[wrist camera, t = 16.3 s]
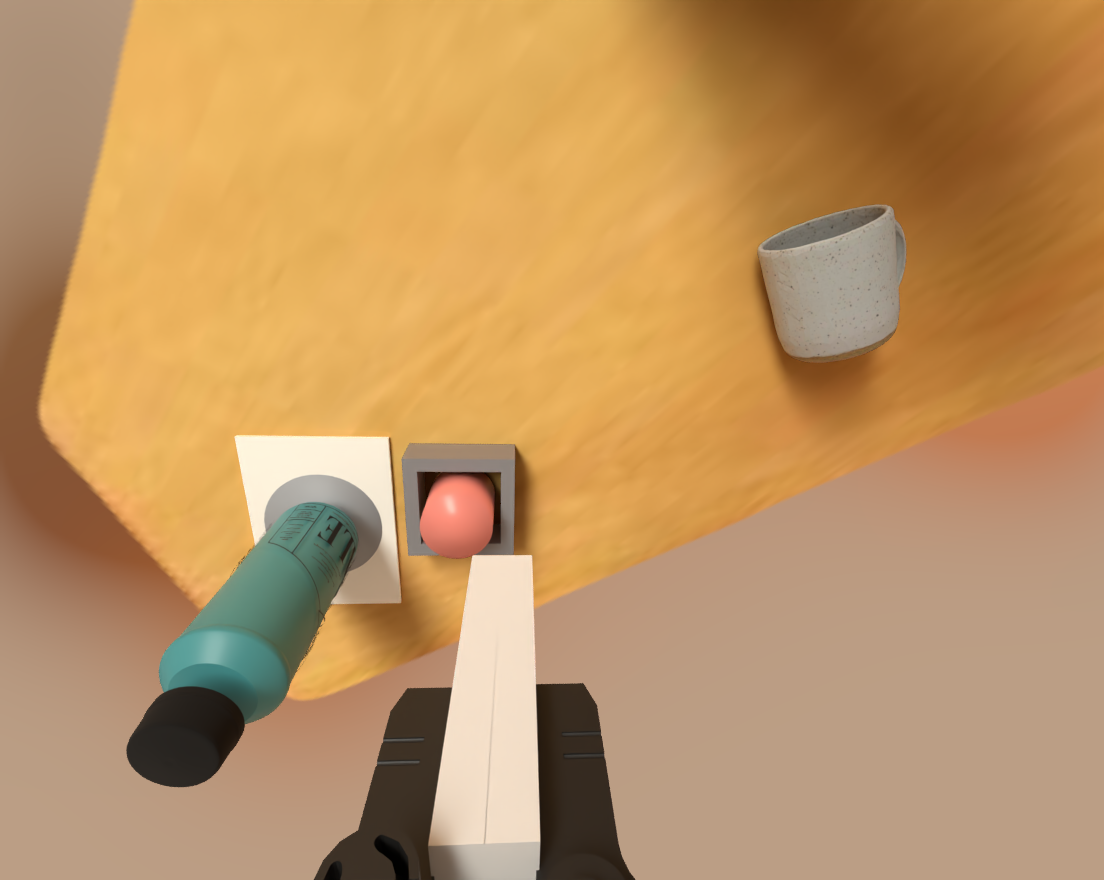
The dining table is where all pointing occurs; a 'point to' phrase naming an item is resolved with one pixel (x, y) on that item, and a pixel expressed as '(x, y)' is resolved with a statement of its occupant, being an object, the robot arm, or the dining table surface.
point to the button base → (458, 460)
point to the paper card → (330, 499)
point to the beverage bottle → (244, 646)
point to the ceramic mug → (835, 283)
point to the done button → (458, 514)
